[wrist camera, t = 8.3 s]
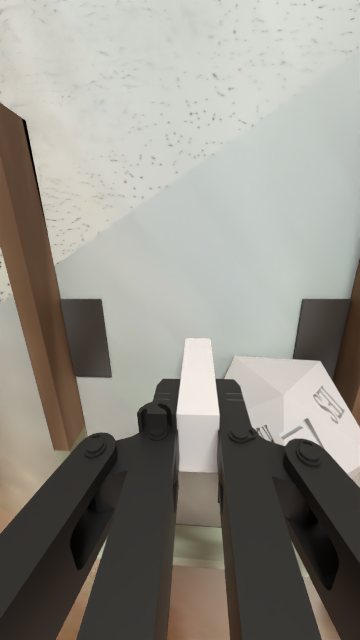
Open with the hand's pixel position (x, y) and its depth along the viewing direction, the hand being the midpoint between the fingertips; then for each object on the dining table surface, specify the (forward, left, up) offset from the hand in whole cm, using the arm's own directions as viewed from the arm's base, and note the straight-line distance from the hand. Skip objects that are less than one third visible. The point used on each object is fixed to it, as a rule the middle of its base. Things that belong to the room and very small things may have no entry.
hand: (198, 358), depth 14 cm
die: (+3, -1, -2) cm, 3 cm away
